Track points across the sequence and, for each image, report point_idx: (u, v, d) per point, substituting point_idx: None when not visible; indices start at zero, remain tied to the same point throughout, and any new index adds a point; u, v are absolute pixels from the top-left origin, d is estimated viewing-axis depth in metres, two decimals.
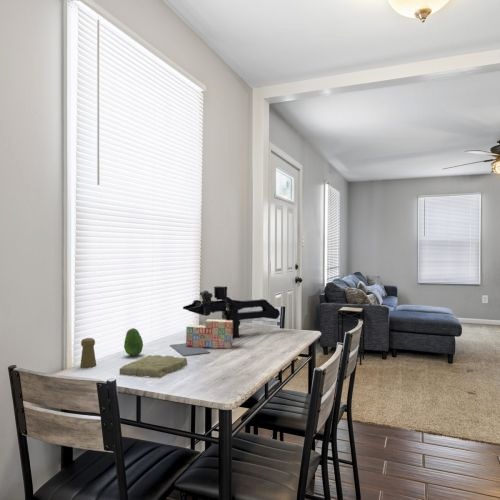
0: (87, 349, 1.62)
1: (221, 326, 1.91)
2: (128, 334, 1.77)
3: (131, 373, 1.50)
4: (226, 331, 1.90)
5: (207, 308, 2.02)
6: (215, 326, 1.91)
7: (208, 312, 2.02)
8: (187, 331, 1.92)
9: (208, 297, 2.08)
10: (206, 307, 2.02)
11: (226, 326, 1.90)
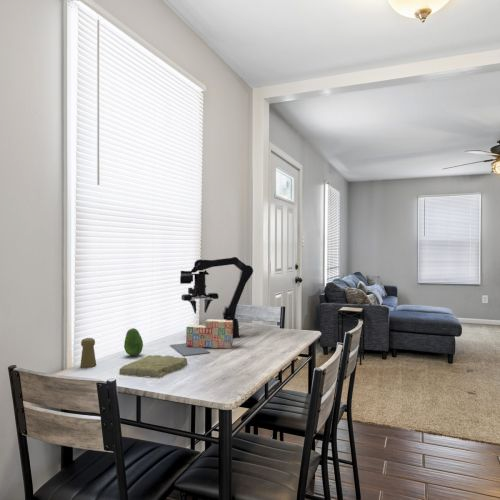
0: (87, 349, 1.62)
1: (221, 326, 1.91)
2: (128, 334, 1.77)
3: (131, 373, 1.50)
4: (226, 331, 1.90)
5: (182, 298, 2.12)
6: (215, 326, 1.91)
7: (183, 297, 2.10)
8: (187, 331, 1.92)
9: (189, 292, 2.18)
10: (182, 299, 2.12)
11: (226, 326, 1.90)
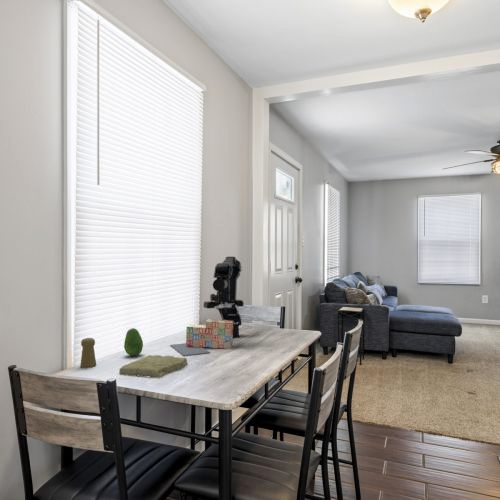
0: (87, 349, 1.62)
1: (221, 326, 1.90)
2: (128, 334, 1.77)
3: (131, 373, 1.50)
4: (226, 331, 1.90)
5: (205, 305, 1.94)
6: (215, 326, 1.91)
7: (206, 305, 1.92)
8: (187, 331, 1.92)
9: (211, 298, 2.01)
10: (204, 306, 1.95)
11: (226, 326, 1.90)
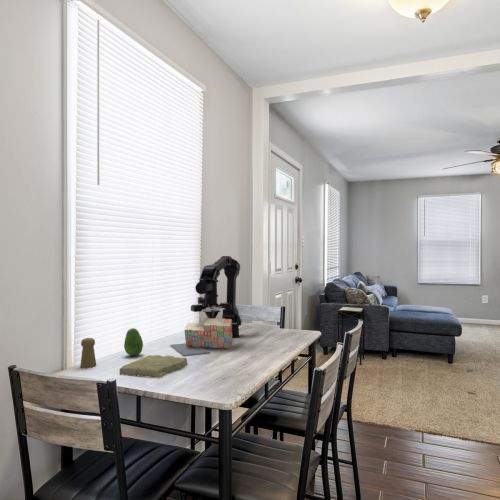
0: (87, 349, 1.62)
1: (220, 329, 1.87)
2: (128, 334, 1.77)
3: (131, 373, 1.50)
4: (225, 334, 1.87)
5: (192, 308, 1.91)
6: (213, 329, 1.87)
7: (193, 308, 1.89)
8: (186, 333, 1.89)
9: (199, 302, 1.97)
10: (191, 309, 1.91)
11: (225, 329, 1.86)
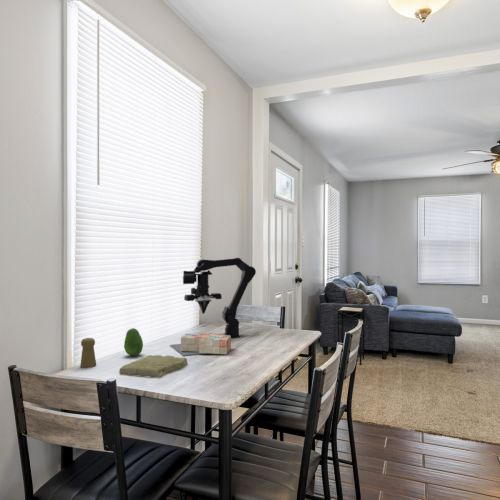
0: (87, 349, 1.62)
1: None
2: (128, 334, 1.77)
3: (131, 373, 1.50)
4: None
5: (185, 298, 2.10)
6: None
7: (186, 297, 2.09)
8: None
9: (192, 292, 2.17)
10: (185, 299, 2.11)
11: None
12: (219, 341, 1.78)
